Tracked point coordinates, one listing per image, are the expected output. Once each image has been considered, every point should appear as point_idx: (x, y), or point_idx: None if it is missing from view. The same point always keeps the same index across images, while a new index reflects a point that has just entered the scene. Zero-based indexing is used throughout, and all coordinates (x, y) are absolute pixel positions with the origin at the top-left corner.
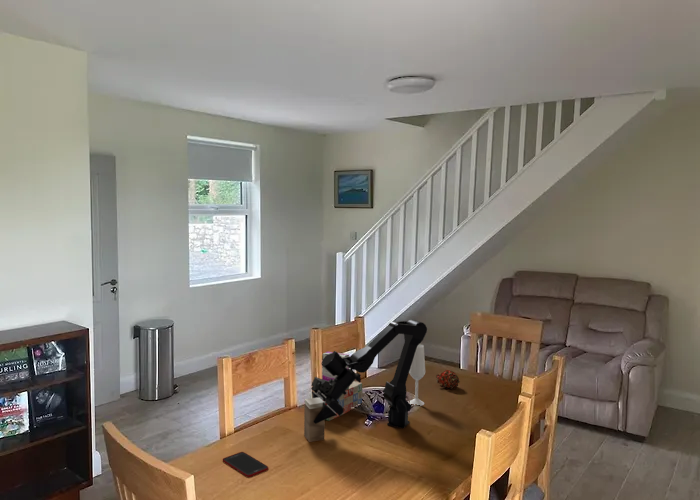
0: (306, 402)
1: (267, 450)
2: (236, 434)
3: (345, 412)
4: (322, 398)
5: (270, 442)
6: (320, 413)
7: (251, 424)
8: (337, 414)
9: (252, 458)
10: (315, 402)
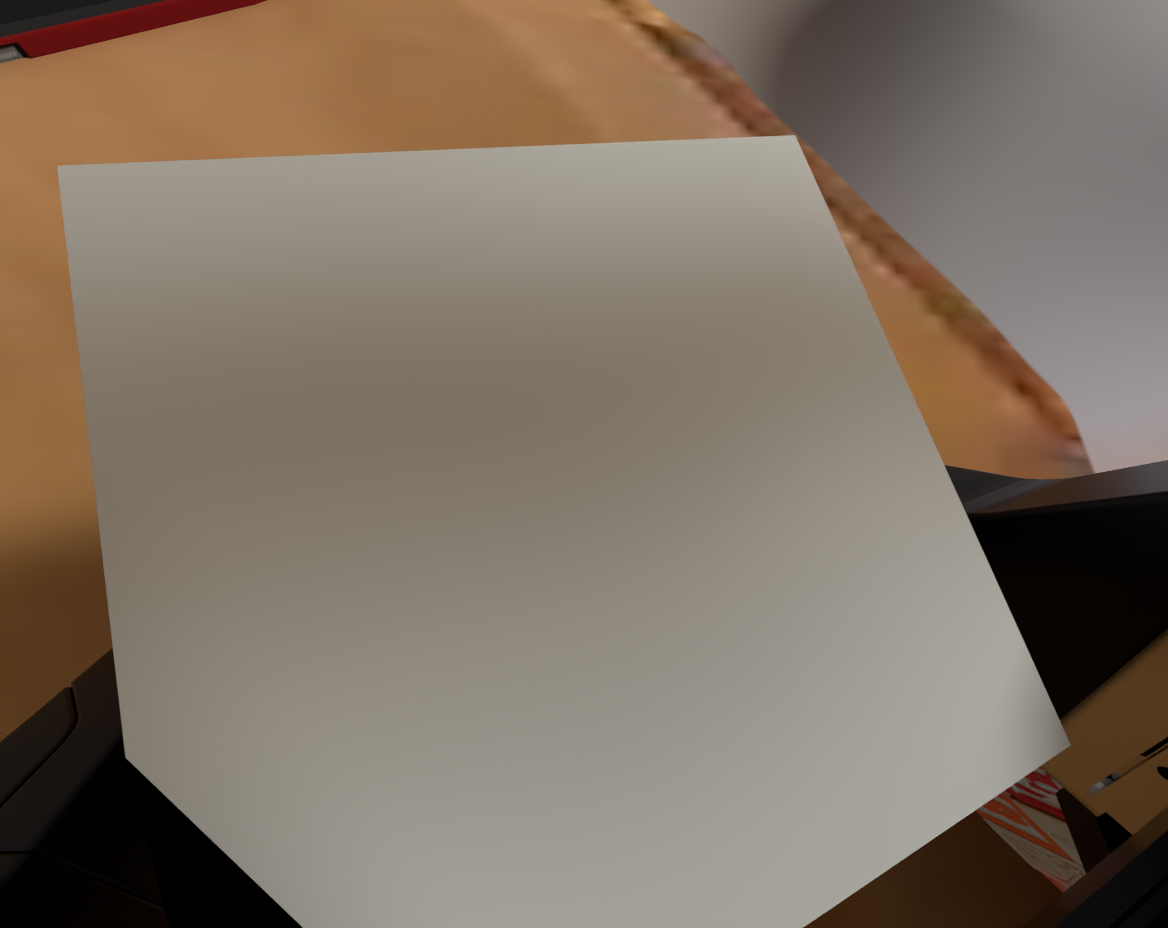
0: (578, 189)
1: (292, 150)
2: (606, 26)
3: (1062, 890)
4: (1102, 801)
5: None
6: (41, 715)
7: (758, 128)
8: (991, 810)
9: (104, 6)
10: (360, 514)
